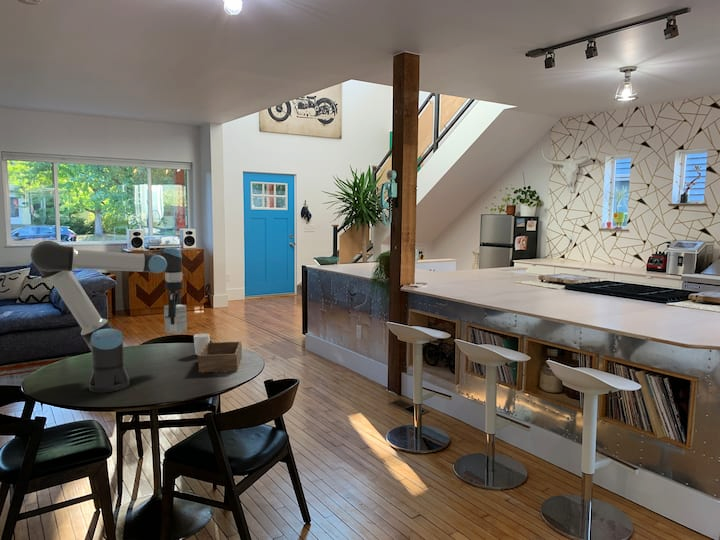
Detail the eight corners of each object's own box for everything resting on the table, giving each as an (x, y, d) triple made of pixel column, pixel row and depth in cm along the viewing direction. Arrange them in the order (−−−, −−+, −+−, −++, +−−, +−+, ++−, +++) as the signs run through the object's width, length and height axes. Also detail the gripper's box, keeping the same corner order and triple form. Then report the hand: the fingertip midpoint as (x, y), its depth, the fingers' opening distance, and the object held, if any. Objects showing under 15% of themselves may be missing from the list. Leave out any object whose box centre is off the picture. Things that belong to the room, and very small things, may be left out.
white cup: (211, 355, 262) (210, 336, 261) (194, 357, 259) (194, 337, 258) (209, 351, 269) (209, 333, 268) (193, 353, 266) (193, 334, 265)
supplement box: (164, 332, 240) (163, 305, 238) (178, 329, 246) (177, 303, 244) (173, 334, 235) (172, 307, 234) (187, 331, 241) (186, 305, 240)
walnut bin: (237, 371, 235) (236, 354, 234) (198, 373, 233) (198, 355, 232) (241, 357, 259) (241, 341, 258) (207, 358, 257) (206, 342, 256)
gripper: (177, 284, 227) (179, 333, 230) (187, 278, 249) (188, 323, 252) (159, 284, 226) (161, 334, 229) (171, 278, 248) (172, 323, 251)
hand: (175, 328), depth 240 cm, fingers closed on supplement box, 10 cm apart
